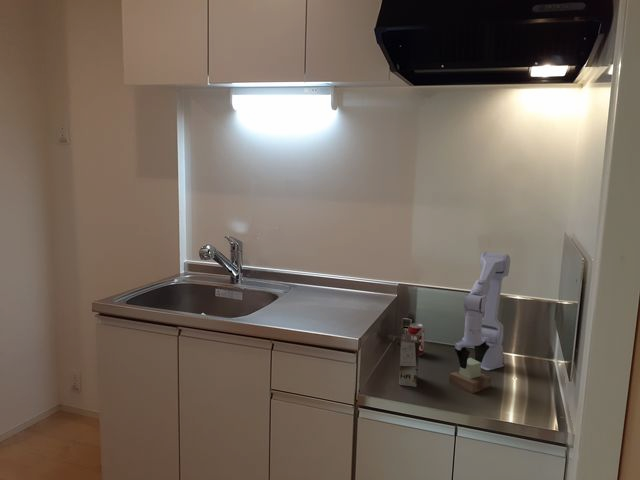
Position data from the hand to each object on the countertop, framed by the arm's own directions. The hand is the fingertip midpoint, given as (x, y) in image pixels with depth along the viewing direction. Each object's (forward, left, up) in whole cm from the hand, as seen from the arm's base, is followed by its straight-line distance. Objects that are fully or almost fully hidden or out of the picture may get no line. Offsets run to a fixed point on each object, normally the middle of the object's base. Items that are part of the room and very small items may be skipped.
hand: (470, 365), depth 186 cm
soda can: (-3, -32, -7) cm, 33 cm away
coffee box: (+17, -13, -7) cm, 23 cm away
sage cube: (0, 0, -4) cm, 4 cm away
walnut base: (0, 0, -8) cm, 8 cm away
